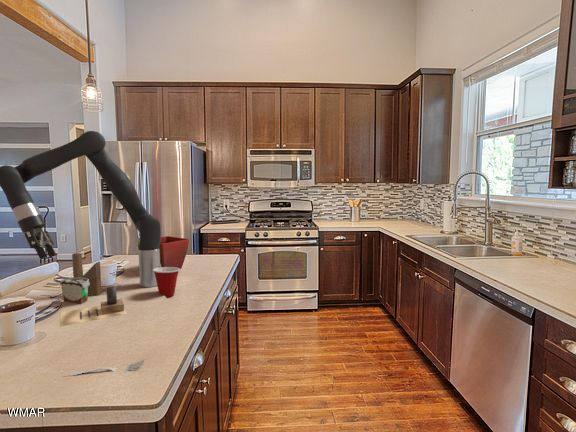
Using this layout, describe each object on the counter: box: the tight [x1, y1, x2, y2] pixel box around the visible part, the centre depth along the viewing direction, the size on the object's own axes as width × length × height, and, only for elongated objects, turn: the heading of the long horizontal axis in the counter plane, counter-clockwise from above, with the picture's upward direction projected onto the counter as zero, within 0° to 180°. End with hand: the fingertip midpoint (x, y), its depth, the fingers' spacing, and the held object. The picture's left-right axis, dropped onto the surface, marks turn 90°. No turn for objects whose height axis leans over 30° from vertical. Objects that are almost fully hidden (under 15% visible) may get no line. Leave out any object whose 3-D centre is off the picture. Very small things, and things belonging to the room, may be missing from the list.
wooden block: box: [71, 252, 102, 296], centre depth 148 cm, size 4×11×18 cm, turn 92°
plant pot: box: [159, 235, 190, 270], centre depth 190 cm, size 19×19×17 cm
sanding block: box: [100, 285, 125, 315], centre depth 126 cm, size 7×7×8 cm
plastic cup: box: [153, 267, 181, 299], centre depth 146 cm, size 11×11×12 cm
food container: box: [59, 277, 90, 305], centre depth 136 cm, size 12×6×10 cm, turn 71°
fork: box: [71, 359, 146, 376], centre depth 88 cm, size 3×24×2 cm, turn 104°
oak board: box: [59, 305, 128, 327], centre depth 123 cm, size 20×14×2 cm
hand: (48, 257), depth 128 cm, fingers open, 8 cm apart
